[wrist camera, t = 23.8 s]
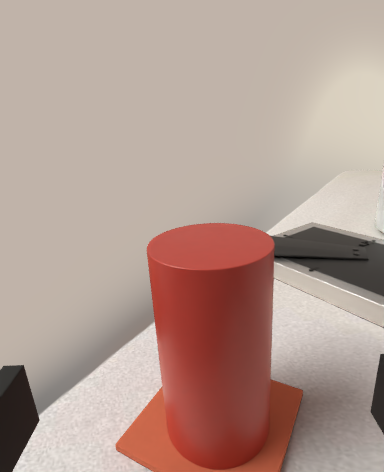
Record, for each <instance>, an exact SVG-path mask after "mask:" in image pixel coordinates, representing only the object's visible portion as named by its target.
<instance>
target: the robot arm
mask: <svg viewBox="0 0 384 472" xmlns="http://www.w3.org/2000/svg"><path fill="white" fill-rule="evenodd" d="M371 414H372V415H373V417H374V419H375V420H376V422H377V424H378V425H379V427H380V429H381V430H382V432H383V434H384V354H381V355H380V361H379V366H378V372H377V378H376V384H375V389H374V395H373V401H372V406H371ZM38 422H39V417H38V413H37V410H36V406H35V403H34V399H33V396H32V392H31V389H30V386H29V382H28V379H27V376H26V372H25V369H24V365H21V366H20V365H18V366H3V367H2V369H1V370H0V472H12V471H13V469H14V467H15V465H16V463H17V462H18V460H19V458H20V456H21V454H22V452H23V450H24V448H25V447H26V445H27V443H28V441H29V439H30V437H31V435H32V433H33V432H34V430H35V428H36V426H37V424H38Z"/></svg>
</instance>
